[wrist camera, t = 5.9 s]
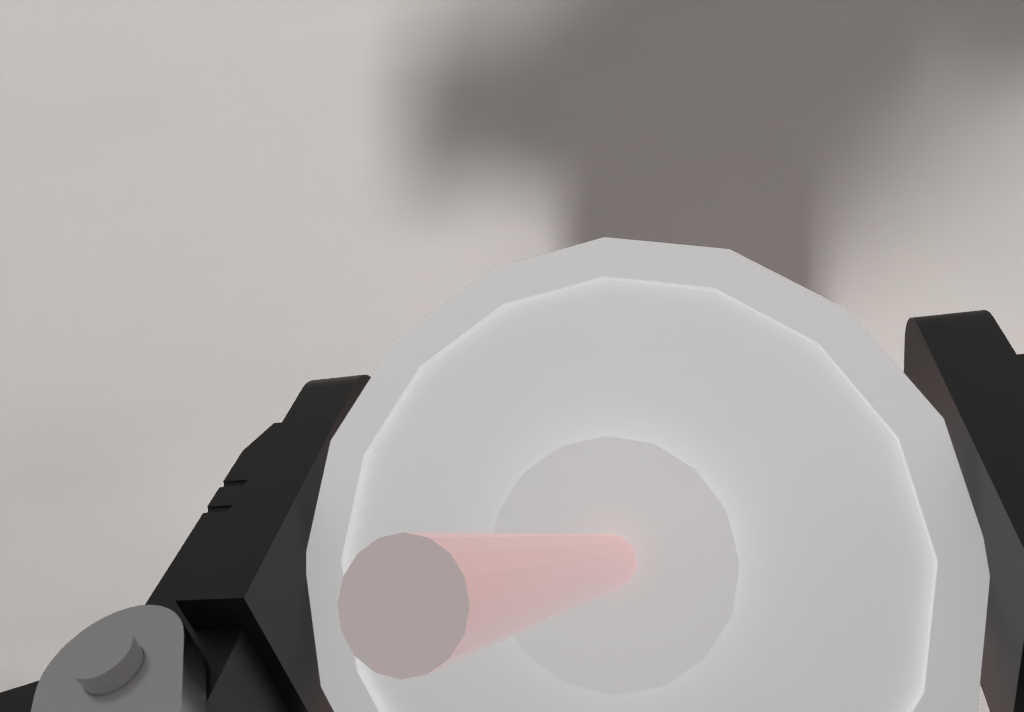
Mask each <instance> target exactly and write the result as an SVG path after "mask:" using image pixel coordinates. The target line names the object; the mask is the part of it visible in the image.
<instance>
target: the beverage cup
mask: <svg viewBox="0 0 1024 712" xmlns="http://www.w3.org/2000/svg"><path fill="white" fill-rule="evenodd" d="M306 576H307V584H308V592H309V599H310V607H311V615H312V622H313V630H314V638H315V645H316V653H317V661H318V668H319V676H320V683H321V688H322V690H323V692H324V694H325V696H326V697H327V699H328V701H329V703H330V705H331V707H332V709H333V711H334V712H977V710H978V699H979V689H980V678H981V667H982V657H983V646H984V636H985V625H986V614H987V604H988V593H989V582H990V574H989V568H988V562H987V556H986V550H985V544H984V538H983V535H982V532H981V529H980V526H979V523H978V520H977V517H976V514H975V511H974V508H973V505H972V502H971V499H970V496H969V493H968V490H967V487H966V484H965V481H964V478H963V475H962V472H961V469H960V466H959V463H958V460H957V457H956V454H955V451H954V448H953V445H952V442H951V439H950V436H949V433H948V430H947V427H946V424H945V421H944V418H943V417H942V416H941V415H940V414H939V413H938V411H937V410H936V409H935V408H934V407H933V406H932V405H931V403H930V402H929V401H928V400H927V399H926V398H925V397H924V395H923V394H922V393H921V392H920V391H919V390H918V388H917V387H916V386H915V385H914V384H913V383H912V382H911V380H910V379H909V378H908V377H907V376H906V375H905V374H904V372H903V371H902V370H901V369H900V368H899V367H898V366H897V364H896V363H895V362H894V361H893V360H892V359H891V357H890V356H889V355H888V354H887V353H886V352H885V351H884V349H883V348H882V347H881V346H880V345H879V344H878V343H877V341H876V340H875V339H874V338H873V337H872V336H871V335H870V333H869V332H868V331H867V330H866V329H865V328H864V327H863V325H862V324H861V323H860V322H859V321H858V320H857V318H856V317H855V316H854V315H853V314H852V313H851V312H850V310H848V309H846V308H844V307H842V306H840V305H838V304H836V303H834V302H832V301H830V300H828V299H826V298H824V297H822V296H820V295H818V294H816V293H815V292H813V291H811V290H809V289H807V288H805V287H803V286H801V285H799V284H797V283H795V282H793V281H791V280H789V279H787V278H785V277H783V276H781V275H779V274H777V273H775V272H773V271H771V270H769V269H768V268H766V267H764V266H762V265H760V264H758V263H756V262H754V261H752V260H750V259H748V258H746V257H744V256H742V255H740V254H738V253H736V252H734V251H732V250H730V249H723V248H713V247H702V246H692V245H681V244H671V243H661V242H650V241H640V240H629V239H619V238H608V237H603V238H599V239H596V240H592V241H589V242H585V243H581V244H578V245H574V246H571V247H567V248H564V249H560V250H557V251H553V252H550V253H546V254H543V255H539V256H536V257H532V258H529V259H525V260H522V261H518V262H515V263H511V264H508V265H504V266H501V267H497V268H494V269H490V270H488V271H486V272H485V273H484V274H482V275H481V276H480V277H478V278H477V279H476V280H474V281H473V282H472V283H470V284H469V285H468V286H466V287H465V288H464V289H462V290H461V291H460V292H458V293H457V294H456V295H454V296H453V297H452V298H451V299H449V300H448V301H447V302H445V303H444V304H443V305H441V306H440V307H439V308H437V309H436V310H435V311H433V312H432V313H431V314H429V315H428V316H427V317H425V318H424V319H423V320H421V321H420V322H419V323H417V324H416V325H415V326H413V327H412V328H411V329H409V330H408V331H407V332H405V333H404V334H403V335H401V336H400V337H399V338H397V339H396V340H395V341H394V342H393V344H392V345H391V347H390V348H389V350H388V351H387V353H386V355H385V356H384V358H383V359H382V361H381V362H380V364H379V366H378V367H377V369H376V370H375V372H374V373H373V375H372V377H371V378H370V380H369V381H368V383H367V384H366V386H365V388H364V389H363V391H362V392H361V394H360V395H359V397H358V399H357V400H356V402H355V403H354V405H353V406H352V408H351V410H350V411H349V413H348V414H347V416H346V417H345V419H344V421H343V422H342V424H341V425H340V427H339V428H338V430H337V432H336V433H335V435H334V436H333V438H332V439H331V441H330V446H329V451H328V455H327V460H326V464H325V469H324V473H323V478H322V482H321V487H320V491H319V496H318V500H317V505H316V510H315V514H314V519H313V523H312V528H311V532H310V537H309V541H308V546H307V550H306Z"/></svg>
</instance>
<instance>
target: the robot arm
mask: <svg viewBox="0 0 1024 712" xmlns="http://www.w3.org/2000/svg"><path fill="white" fill-rule="evenodd" d="M904 374H905V375H906V376H907V377H908V378H909V379H910V380H911V382H912V383H913V384H914V385H915V386H916V387H917V388H918V390H919V391H920V392H921V393H922V394H923V395H924V397H925V398H926V399H927V400H928V401H929V402H930V403H931V405H932V406H933V407H934V408H935V409H936V410H937V411H938V413H939V414H940V415H941V416H942V417H943V418H944V421H945V424H946V427H947V430H948V433H949V436H950V439H951V442H952V445H953V448H954V451H955V454H956V457H957V460H958V463H959V466H960V469H961V472H962V475H963V478H964V481H965V484H966V487H967V490H968V493H969V496H970V499H971V502H972V505H973V508H974V511H975V514H976V517H977V520H978V523H979V526H980V529H981V532H982V535H983V538H984V544H985V550H986V556H987V562H988V568H989V574H990V582H989V593H988V604H987V614H986V625H985V636H984V646H983V657H982V667H981V678H980V684H981V687H982V690H983V693H984V695H985V698H986V701H987V704H988V707H989V709H990V712H1024V354H1018V355H1017V354H1016V353H1015V351H1014V349H1013V348H1012V346H1011V345H1010V343H1009V341H1008V340H1007V338H1006V337H1005V335H1004V333H1003V332H1002V330H1001V329H1000V327H999V325H998V324H997V322H996V321H995V319H994V317H993V316H992V315H991V313H990V312H988V311H986V310H980V311H970V312H961V313H952V314H942V315H933V316H923V317H914V318H910V319H909V320H908V322H907V325H906V331H905V351H904ZM370 378H371V377H370V376H368V375H358V376H349V377H339V378H330V379H321V380H312V381H309V382H308V383H306V384H305V386H304V387H303V388H302V390H301V392H300V393H299V395H298V397H297V398H296V400H295V402H294V403H293V405H292V407H291V408H290V410H289V412H288V413H287V415H286V417H285V418H284V420H283V422H282V423H274V424H273V425H272V426H270V427H269V428H268V429H267V430H266V431H265V432H264V433H262V434H261V435H260V436H259V437H258V438H257V439H256V440H255V441H253V442H252V443H251V444H250V445H249V446H248V447H247V448H245V449H244V450H243V451H242V453H241V454H240V456H239V458H238V459H237V461H236V462H235V464H234V466H233V467H232V469H231V470H230V472H229V473H228V475H227V477H226V478H225V480H224V481H223V482H224V487H220V488H219V489H218V491H217V492H216V494H215V495H214V497H213V499H212V500H211V502H210V503H209V505H208V506H207V507H208V513H203V514H202V516H201V518H200V519H199V521H198V522H197V524H196V525H195V527H194V529H193V530H192V532H191V533H190V535H189V536H188V538H187V540H186V541H185V543H184V544H183V546H182V547H181V549H180V551H179V552H178V554H177V555H176V557H175V559H174V560H173V562H172V563H171V565H170V566H169V568H168V570H167V571H166V573H165V574H164V576H163V577H162V579H161V581H160V582H159V584H158V585H157V587H156V588H155V590H154V592H153V593H152V595H151V596H150V598H149V599H148V601H147V603H146V604H145V605H140V606H136V607H131V608H127V609H124V610H121V611H118V612H115V613H113V614H111V615H109V616H106V617H104V618H103V619H101V620H99V621H97V622H95V623H94V624H92V625H91V626H89V627H88V628H86V629H85V630H83V631H82V632H80V633H79V634H78V635H77V636H76V637H74V638H73V639H72V640H71V641H70V642H69V643H67V644H66V645H65V646H64V647H63V648H62V649H61V650H60V651H59V653H58V654H57V655H56V656H55V657H54V658H53V660H52V661H51V662H50V664H49V665H48V667H47V668H46V670H45V671H44V673H43V675H42V677H41V679H40V681H37V682H33V683H30V684H27V685H24V686H21V687H17V688H14V689H11V690H8V691H4V692H1V693H0V712H334V711H333V709H332V707H331V705H330V703H329V701H328V699H327V697H326V696H325V694H324V692H323V690H322V688H321V683H320V676H319V668H318V661H317V653H316V645H315V638H314V630H313V622H312V615H311V607H310V599H309V592H308V584H307V576H306V550H307V546H308V541H309V537H310V532H311V528H312V523H313V519H314V514H315V510H316V505H317V500H318V496H319V491H320V487H321V482H322V478H323V473H324V469H325V464H326V460H327V455H328V451H329V446H330V441H331V439H332V438H333V436H334V435H335V433H336V432H337V430H338V428H339V427H340V425H341V424H342V422H343V421H344V419H345V417H346V416H347V414H348V413H349V411H350V410H351V408H352V406H353V405H354V403H355V402H356V400H357V399H358V397H359V395H360V394H361V392H362V391H363V389H364V388H365V386H366V384H367V383H368V381H369V380H370Z"/></svg>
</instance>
